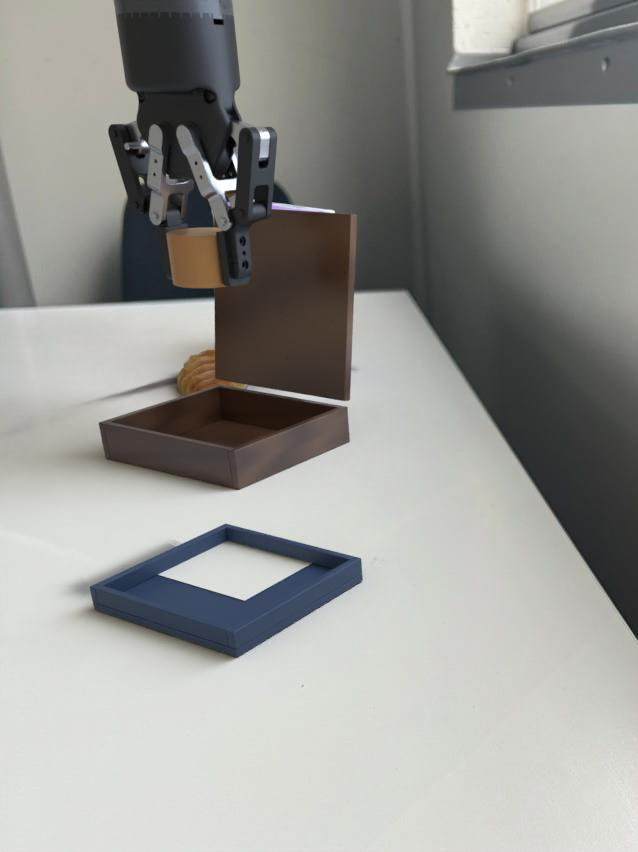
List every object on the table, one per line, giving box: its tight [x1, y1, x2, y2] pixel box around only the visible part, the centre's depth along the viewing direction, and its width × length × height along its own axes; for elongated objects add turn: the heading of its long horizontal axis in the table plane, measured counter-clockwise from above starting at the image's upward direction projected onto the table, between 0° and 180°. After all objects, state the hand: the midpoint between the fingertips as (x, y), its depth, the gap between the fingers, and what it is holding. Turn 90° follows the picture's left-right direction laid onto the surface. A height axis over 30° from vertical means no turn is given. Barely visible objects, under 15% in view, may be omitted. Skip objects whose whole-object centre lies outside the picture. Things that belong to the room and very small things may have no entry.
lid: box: [213, 206, 358, 402], centre depth 85 cm, size 14×14×5 cm
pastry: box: [176, 349, 249, 396], centre depth 97 cm, size 9×7×4 cm
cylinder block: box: [166, 226, 227, 289], centre depth 74 cm, size 5×5×4 cm
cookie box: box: [98, 385, 351, 491], centre depth 82 cm, size 13×14×4 cm
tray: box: [89, 523, 364, 658], centre depth 60 cm, size 11×11×2 cm
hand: (208, 280), depth 75 cm, fingers closed on cylinder block, 5 cm apart
